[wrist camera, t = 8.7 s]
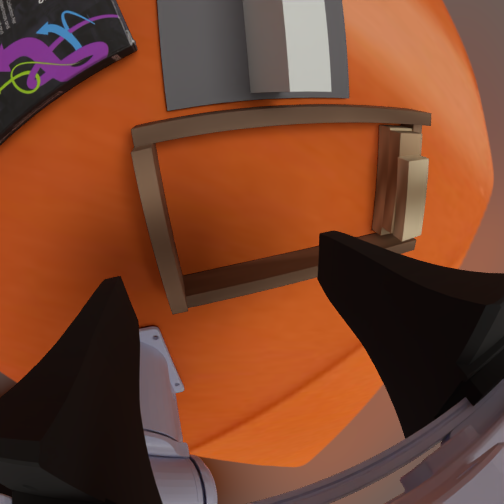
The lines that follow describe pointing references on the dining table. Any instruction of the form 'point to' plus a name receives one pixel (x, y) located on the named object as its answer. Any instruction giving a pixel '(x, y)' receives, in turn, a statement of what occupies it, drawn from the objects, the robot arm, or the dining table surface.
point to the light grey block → (287, 45)
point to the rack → (257, 271)
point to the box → (53, 51)
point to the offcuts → (400, 183)
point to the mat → (228, 53)
